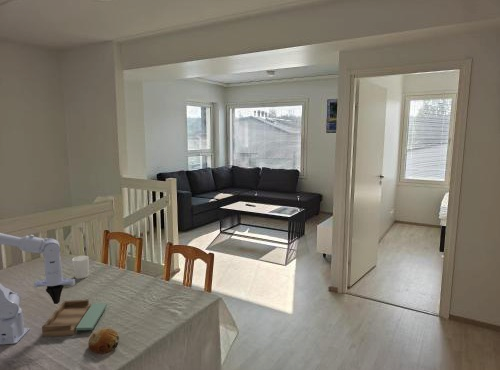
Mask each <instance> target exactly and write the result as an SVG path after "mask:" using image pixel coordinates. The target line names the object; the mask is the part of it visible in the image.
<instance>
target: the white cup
mask: <svg viewBox="0 0 500 370" xmlns="http://www.w3.org/2000/svg"><path fill="white" fill-rule="evenodd" d="M89 258H90V257H89V256H88V255H78V256H74V257H73V258H72V259H71V261H72V262H71V263H72V269H73V273H74V279H79V280H80V279H85V278H87V277H89V275H90V274H89V272H90V271H89V270H90V261H89V260H90V259H89Z"/></svg>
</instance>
